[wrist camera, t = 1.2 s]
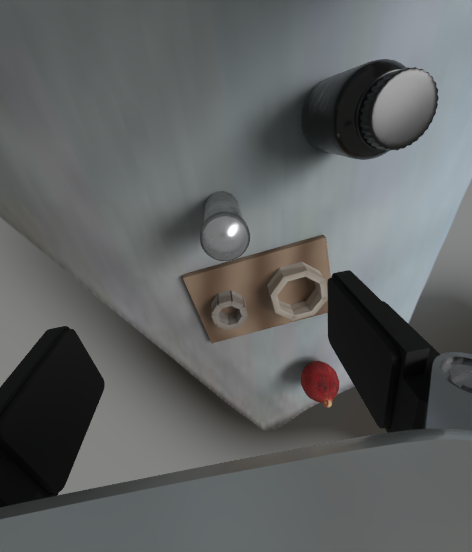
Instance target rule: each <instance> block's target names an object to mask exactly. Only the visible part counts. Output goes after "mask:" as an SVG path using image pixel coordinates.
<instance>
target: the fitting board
mask: <svg viewBox="0 0 472 552" xmlns="http://www.w3.org/2000/svg"><path fill="white" fill-rule="evenodd" d="M329 278H331V277H330V268H329V260H328V251H327V243H326V237H325V236H324V235H320V236H317V237H313V238H310V239H306V240H303V241H299V242H296V243H292V244H289V245H285V246H282V247H278V248H275V249H271V250H268V251H264V252H261V253H257V254H254V255H250V256H247V257H243V258H240V259H236V260H233V261H229V262H226V263H222V264H219V265H215V266H212V267H208V268H205V269H201V270H198V271H194V272H191V273H187V274H184V275H183V280H184V282H185V284H186V286H187V289H188V291H189V293H190V295H191V298H192V300H193V302H194V305H195V307H196V309H197V311H198V314H199V316H200V318H201V320H202V323H203V325H204V327H205V330H206V332H207V334H208V336H209V339H210V341H211V343H215V342H218V341H222V340H226V339H230V338H233V337H237V336H241V335H245V334H249V333H252V332H256V331H260V330H264V329H267V328H271V327H275V326H279V325H283V324H286V323H290V322H294V321H298V320H301V319H305V318H309V317H313V316H316V315H320V314H324V313H328V286H327V282H328V279H329Z"/></svg>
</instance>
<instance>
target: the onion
mask: <svg viewBox="0 0 472 552" xmlns="http://www.w3.org/2000/svg"><path fill="white" fill-rule="evenodd" d="M301 385H302V387H303V389H304V391H305V393H306V394H307V396H308V397H310V398H311V399H313V400H315V401H317V402H320V403H324V406H325V407H328V408H329V407H330V406H331V405H332V400H333V398H335V396H336V395H337V393H338V390H339V380H338V377H337V374H336V372H335V370H334V369H333V368H332V367H331V366H329V365H328V364H326V363H324V362H320V361H314V362H311V363H309V364H308V365H307V366H306V367H305V368H304V370H303V372H302V374H301Z"/></svg>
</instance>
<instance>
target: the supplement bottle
mask: <svg viewBox="0 0 472 552" xmlns="http://www.w3.org/2000/svg"><path fill="white" fill-rule="evenodd" d="M437 93H438V89H437V88H436V82H434V80H433V77H432V76H430V75H429V73H428V72H425V71H424V70H423V69H418V68H406V67H405V66H404V65H403V64H401V63H399V62H397V61H394V60H389V59H381V60H375V61H371V62H368V63H366V64H363V65H360V66H358V67H355V68H352V69H350V70H347V71H345V72H342V73H339V74H337V75H334V76H332V77H329V78H327V79H325V80H324V81H322V82H321V83H319V84H318V85H317V86H316V87H315V88H314V89H313V91H312V92H311V93H310V95H309V97H308V98H307V100H306V103H305V105H304V109H303V114H302V127H303V131H304V134H305V136H306V138H307V140H308V141H309V143H310V144H311V145H312V146H313V147H315V148H317V149H319V150H321V151H324V152H328V153H332V154H337V155H341V156H345V157H349V158H354V159H360V160H367V159H373V158H376V157H379V156H381V155H383V154H385V153H387V152H388V151H390V150H398V149H400V148H405V147H406V146H407V145H411V144H412V143H413V142H414V141H417V140H418V138H419V137H420V136H422V135H423V134H424V132H425V131H426V130H427V129H428V127H429V124H430V123H431V122H432V120H433V117H434V115H435V113H436V108H437V106H438V104H437V101H438V95H437Z"/></svg>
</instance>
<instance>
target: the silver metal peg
mask: <svg viewBox="0 0 472 552" xmlns="http://www.w3.org/2000/svg"><path fill="white" fill-rule="evenodd" d="M200 242H201V245H202V248H203V249H204V251H205V252H206V253H207V254H208V255H209V256H210V257H212V258H214V259H216V260H220V261H229V260H233V259H236V258H238V257H239V256H241V255H242V254H243V253H244V252H245V251H246V249H247V247H248V245H249V242H250V233H249V229H248V226H247V224H246V222H245V221H244V220H243V218H242V215H241V212H240V209H239V205H238V202H237V200H236V199H235V197H234V196H233V195H231V194H230V193H228V192H222V191H221V192H216V193H214V194H212V195H211V196H210V197H209V198H208V199H207V201H206V204H205V213H204V223H203V225H202V228H201V233H200Z"/></svg>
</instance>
